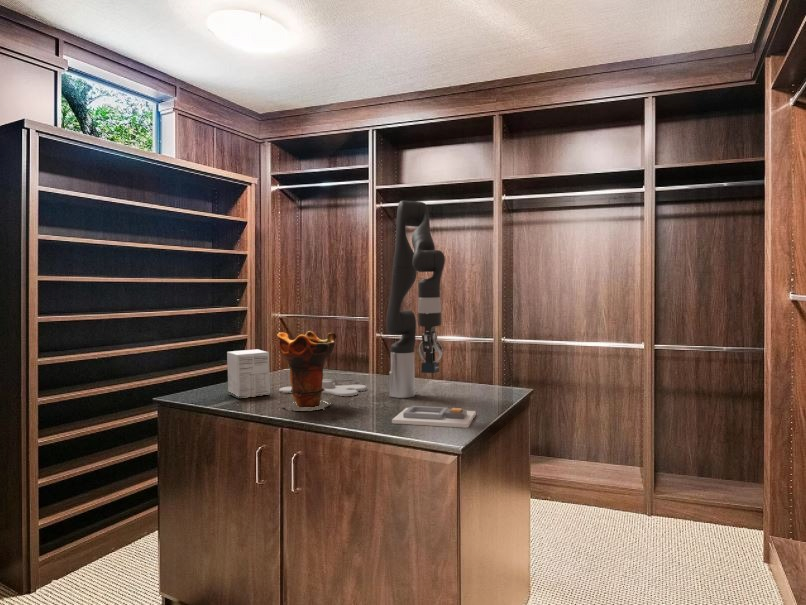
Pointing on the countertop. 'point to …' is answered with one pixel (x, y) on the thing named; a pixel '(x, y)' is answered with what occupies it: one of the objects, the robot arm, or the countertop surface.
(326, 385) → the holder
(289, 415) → the countertop surface
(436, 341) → the watch
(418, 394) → the countertop surface
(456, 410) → the button
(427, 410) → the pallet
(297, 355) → the decorative vase
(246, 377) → the supplement box
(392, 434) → the countertop surface
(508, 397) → the countertop surface
